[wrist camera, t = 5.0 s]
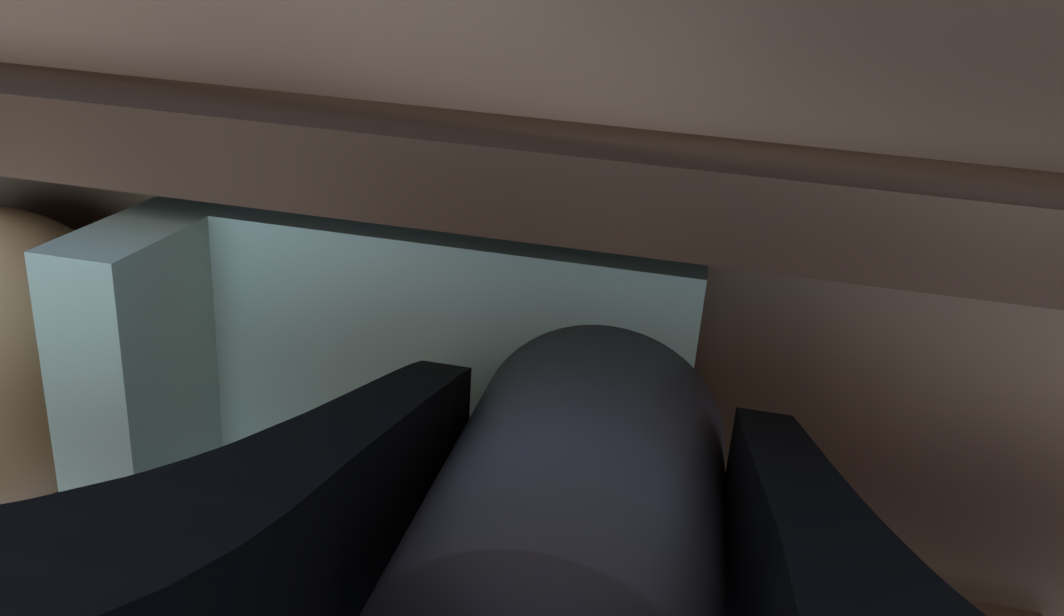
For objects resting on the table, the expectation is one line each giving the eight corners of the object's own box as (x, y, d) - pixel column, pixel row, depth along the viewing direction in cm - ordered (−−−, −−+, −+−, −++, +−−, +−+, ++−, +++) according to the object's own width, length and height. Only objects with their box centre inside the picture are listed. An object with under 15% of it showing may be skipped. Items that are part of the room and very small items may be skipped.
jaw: (701, 543, 13) (683, 950, 8) (212, 458, 14) (-96, 760, 9) (749, 249, 11) (771, 504, 6) (193, 180, 13) (-200, 344, 7)
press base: (1104, 749, 14) (1195, 938, 12) (-120, 510, 18) (-275, 612, 15) (1401, 10, 10) (1648, 30, 7) (-264, -113, 14) (-514, -131, 11)
